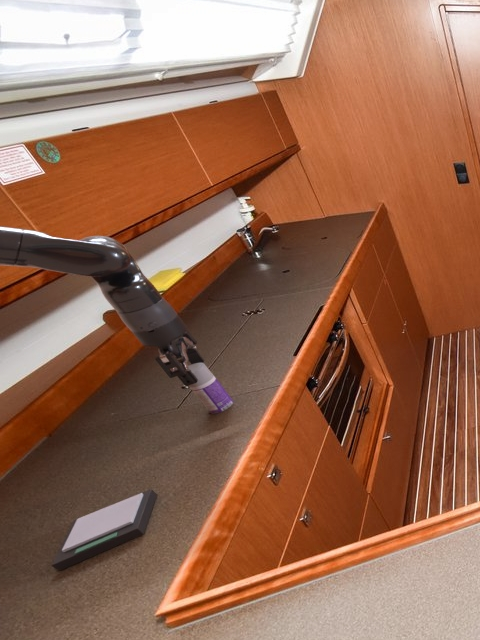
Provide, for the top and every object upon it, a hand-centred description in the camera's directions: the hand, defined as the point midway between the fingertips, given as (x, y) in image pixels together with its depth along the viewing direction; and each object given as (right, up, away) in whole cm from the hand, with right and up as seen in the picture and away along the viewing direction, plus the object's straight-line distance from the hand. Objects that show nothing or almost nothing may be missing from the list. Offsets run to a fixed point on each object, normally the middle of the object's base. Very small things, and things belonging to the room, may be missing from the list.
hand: (195, 373), depth 99 cm
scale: (+4, -27, -19) cm, 33 cm away
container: (0, -12, +7) cm, 14 cm away
